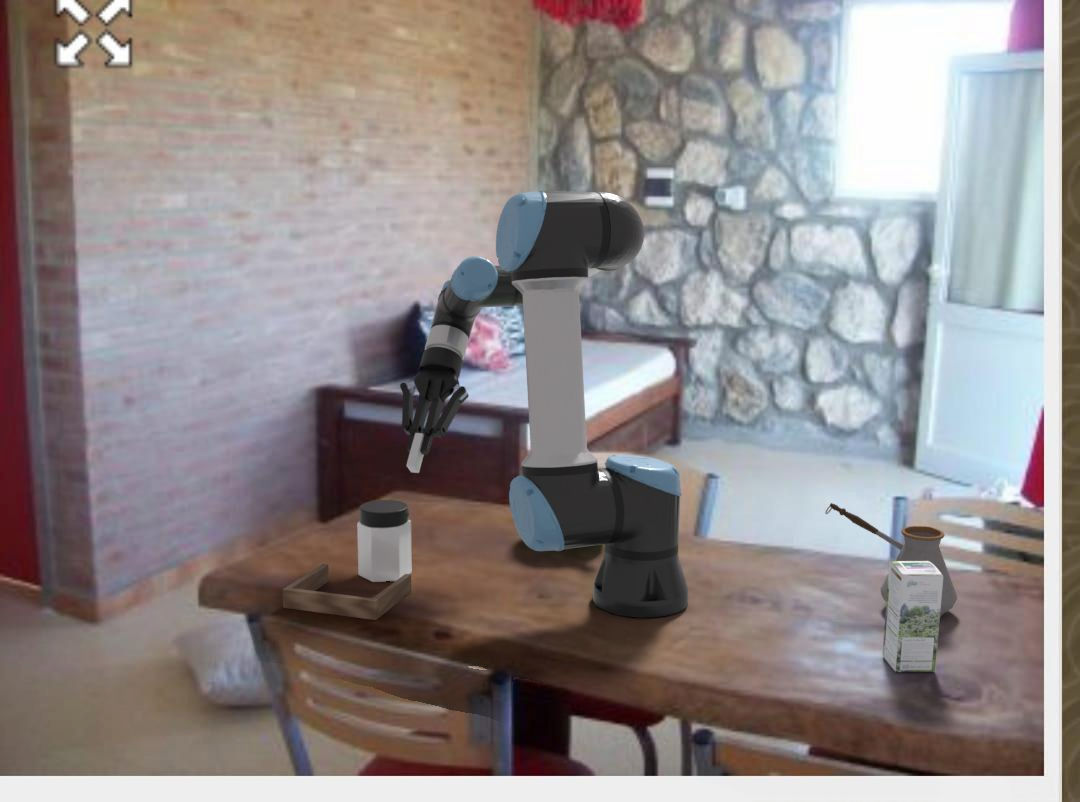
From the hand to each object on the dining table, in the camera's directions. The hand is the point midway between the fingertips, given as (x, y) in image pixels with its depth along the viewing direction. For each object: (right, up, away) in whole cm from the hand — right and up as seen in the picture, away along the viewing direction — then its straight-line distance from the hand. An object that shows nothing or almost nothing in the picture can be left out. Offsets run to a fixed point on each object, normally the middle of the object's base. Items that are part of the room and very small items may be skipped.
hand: (412, 469), depth 209 cm
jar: (-4, -18, -7) cm, 19 cm away
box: (-8, -20, -19) cm, 28 cm away
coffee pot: (+77, -21, -20) cm, 83 cm away
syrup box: (+74, -25, -43) cm, 89 cm away
